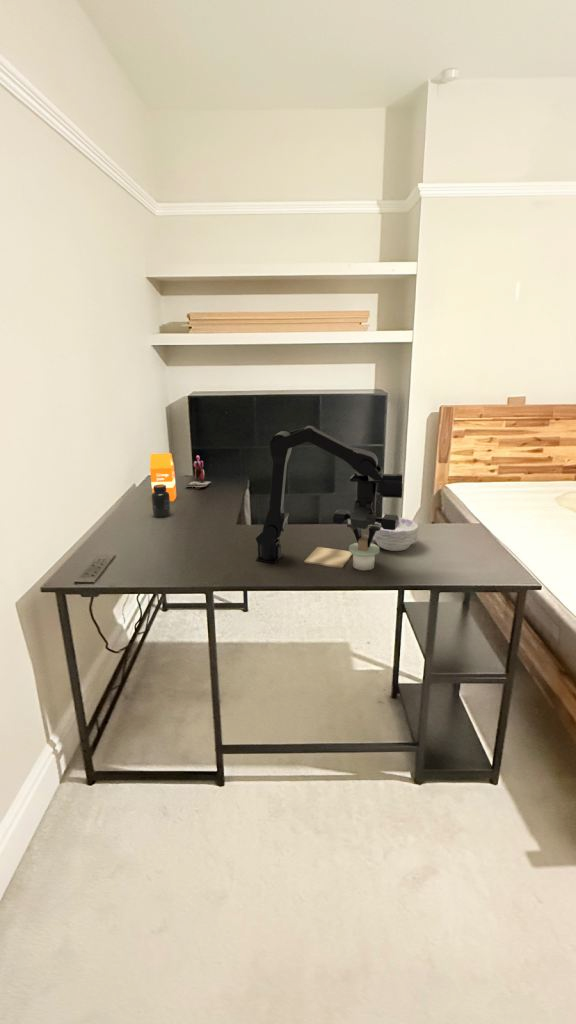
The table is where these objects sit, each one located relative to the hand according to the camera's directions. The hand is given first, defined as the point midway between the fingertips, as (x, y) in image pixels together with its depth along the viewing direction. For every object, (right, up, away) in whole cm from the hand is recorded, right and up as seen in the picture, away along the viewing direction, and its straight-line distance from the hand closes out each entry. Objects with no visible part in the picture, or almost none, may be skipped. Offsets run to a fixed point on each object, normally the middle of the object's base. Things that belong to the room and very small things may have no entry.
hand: (364, 546), depth 156 cm
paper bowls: (+12, -1, +17) cm, 21 cm away
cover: (0, -1, 0) cm, 1 cm away
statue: (-65, +22, +89) cm, 113 cm away
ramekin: (0, -6, +2) cm, 6 cm away
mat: (-10, -4, +8) cm, 13 cm away
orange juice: (-76, +16, +71) cm, 105 cm away
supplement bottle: (-72, +9, +50) cm, 88 cm away
